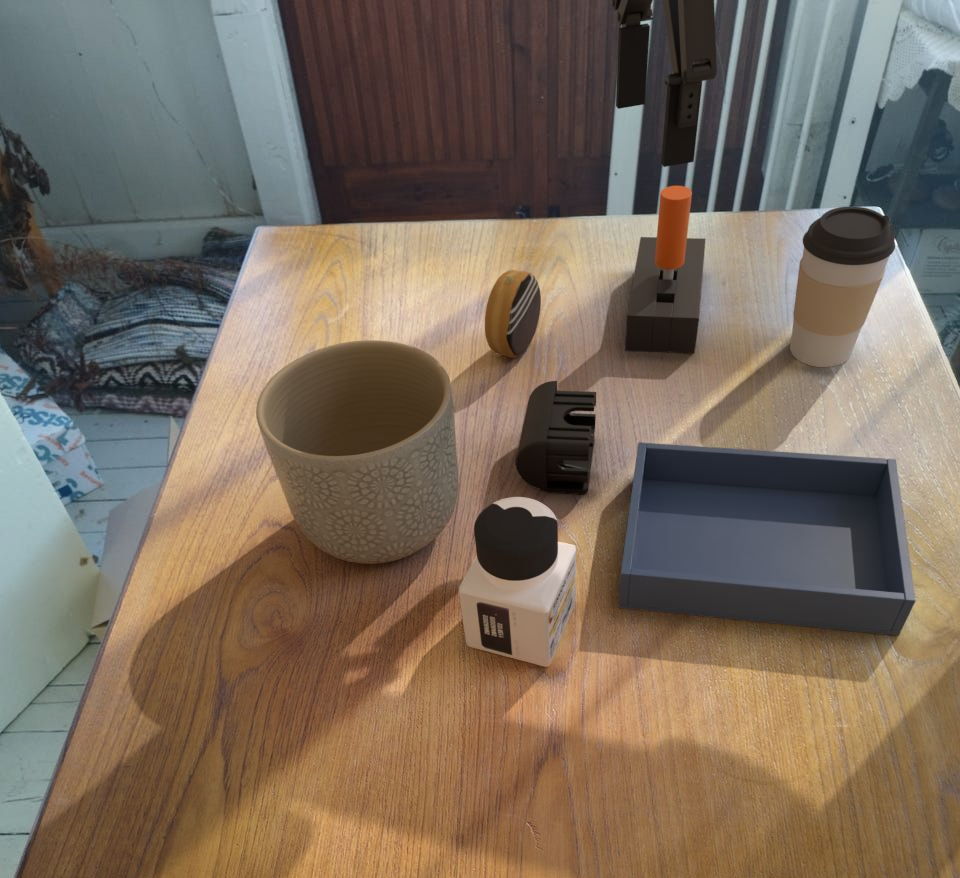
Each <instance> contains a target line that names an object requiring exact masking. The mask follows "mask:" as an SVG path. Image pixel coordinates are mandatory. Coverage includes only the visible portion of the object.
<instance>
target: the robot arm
mask: <svg viewBox="0 0 960 878" xmlns="http://www.w3.org/2000/svg"><path fill="white" fill-rule="evenodd" d="M662 3H663V4H662V5H663V12H664V18H665V27H666V35H667V41H668V49H669V56H670V57H669V58H670V64H671V72H672V73H670V74H668V75H667V77H666V78H665V80H664V85H665V87H666V98H665V111H664V120H663V121H664V122H663V135H662V147H661V159H660V160H661V161H660V164H661V166H662V167H663V168H665V167H671V166H673V167H674V166H677V165H678V166H679V165H682V164H684V165H685V164H690V163H694V161H695V153H696V143H697V135H698V125H699V116H700V107H701V99H702V98H701V97H702V88H703V82H704V81H705V82H706V81H711V80H715V79H716V77H717V71H718V69H717V68H718V67H717V42H716V40H717V39H716V38H717V37H716V15H715V14H716V12H715V0H662ZM652 4H653V0H611V1H610V6H611V10H612V12H616V11H617V12H616V21H617V25H618V26H621V27H619V28H618V41H617V65H616V66H617V67H616V89H615V91H616V93H615V94H616V95H615V107H616V108H617V109H619V110H620V109H624V108H626V109H627V108H632V107H637V106H643V105H646V96H647V95H646V94H647V93H646V92H647V76H648V63H649V62H648V61H649V60H648V59H649V45H650V32H651V26H650V25H649V23H642V22H647V21H653V20H654V17H653V16H654V14H653V9H652Z"/></svg>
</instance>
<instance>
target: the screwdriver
mask: <svg viewBox="0 0 960 878" xmlns="http://www.w3.org/2000/svg"><path fill="white" fill-rule="evenodd" d="M659 195H660V196H659V205H658V206H659V207H658V219H657V231H656V237H657V241H656V253H655V264H656V266H658V267H659V268H662V269H664V270H663V280H673V273H674V269H677V268H679V267H681V266H682V265H683V264H684V260H685V251H686V242H687V238H688V232H689V224H690V216H691V215H690V214H691V206H692V196H693V190H691V188H689V187H687V186H683V185H671V186H667V187H664V188H663V189H661V191H660V194H659Z"/></svg>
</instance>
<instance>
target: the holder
mask: <svg viewBox="0 0 960 878" xmlns="http://www.w3.org/2000/svg"><path fill="white" fill-rule="evenodd" d="M656 241H657V236H655V237H654V236H640V239H639V244H638V249H637V256H636V262H635V268H634V274H633V279H632V284H631V285H632V286H631V291H630V297H629V303H628V307H627V313H626V328H625V342H624V343H625V345H624V346H625V347H624V350H625V351H634V352H655V353H677V354H678V353H679V354H695V352H696V345H697V337H698V329H699V321H700V312H701V301H702V288H703V287H702V286H703V277H704V276H703V275H704V264H705V251H706V241H707V239H706V238H696V237H695V238H693V237H687V242H686V251H685V260H684V264H683V265H682V266H681V267H679V268H677V269H674V273H673V280H663V270H664V269H662V268H659V267H658V266H656V264H655V253H656Z"/></svg>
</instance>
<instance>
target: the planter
mask: <svg viewBox="0 0 960 878" xmlns="http://www.w3.org/2000/svg"><path fill="white" fill-rule="evenodd" d="M255 415H256V416H255V417H256V421H257V425H258V428H259V431H260V435H261V437H262V440H263V443H264V445H265V448H266V452H267V454H268V456H269V460H270V461H271V464H272V467H273V469H274V472H275V474H276V476H277V480H278V481H279V484H280V487H281V489H282V492H283V495H284V498H285V501H286V503H287V506H288V509H289V511H290V512H291V515H292V517H293V519H294V521H295V523H296V525H297V527H298V528H299V530H300V531H301V532H302V534H303V535H304V536H305V537H306V538H307V540H309V542H310V543H312V544H313V545H314V546H315V547H316V548H318V549H319V550H320V551H322V552H324V553H326V554H327V555H329V556H332V557H334V558H337V559H339V560H342V561H345V562H350V563H355V564H365V565H371V564H372V565H373V564H383V563H389V562H390V563H391V562H395V561H397V560H400V559H404V558H406V557H408V556H411V555H413V554H415V553H417V552H420V551H421V550H423V549H424V548H425V547H427V546H428V545H430V544H431V543H432V542H433V541H434V540H435V539H437V537H438V536H439V535H440V534H441V533H442V532H443V530H444V529H445V528H446V527H447V525H448V523H449V522H450V520H451V518H452V516H453V513H454V511H455V508H456V505H457V501H458V495H459V465H458V464H459V463H458V455H457V454H458V452H457V439H456V438H457V436H456V423H455V409H454V399H453V391H452V384H451V380H450V377H449V374H448V373H447V370H446V369H445V368H444V366H443V365H442V364H441V362H440V361H438V359H436V358H435V357H434V356H432V355H431V354H430V353H428V352H425V351H424V350H422V349H420V348H417V347H415V346H413V345H409V344H407V343H406V344H405V343H401V342H396V341H390V340H380V339H379V340H376V339H375V340H374V339H373V340H372V339H367V340H366V339H365V340H364V339H363V340H353V341H345V342H341V343H336V344H332V345H328V346H325V347H321V348H319V349H316V350H313V351H311V352H309V353H306V354H304V355H302V356H300V357H298V358H296V359H294V360H292V361H290V363H288V364H287V365H285V366H284V367H282V368H281V369H279V370H278V371H277V372H276V373H275V374H274V375H273V376H272V377H271V378H270V379H269V380H268V382H267V383H266V384H265V386H264V387H263V389H262V391H261V392H260V394H259V396H258V399H257V402H256V407H255Z"/></svg>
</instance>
